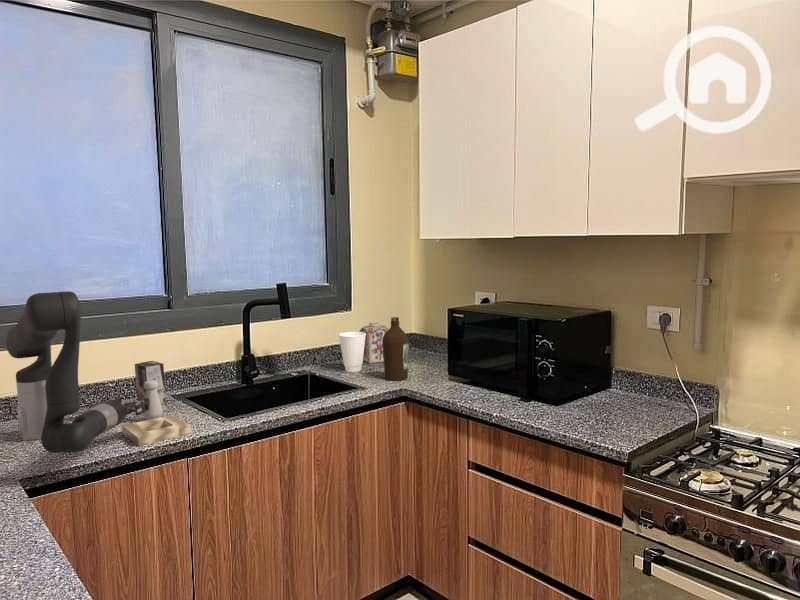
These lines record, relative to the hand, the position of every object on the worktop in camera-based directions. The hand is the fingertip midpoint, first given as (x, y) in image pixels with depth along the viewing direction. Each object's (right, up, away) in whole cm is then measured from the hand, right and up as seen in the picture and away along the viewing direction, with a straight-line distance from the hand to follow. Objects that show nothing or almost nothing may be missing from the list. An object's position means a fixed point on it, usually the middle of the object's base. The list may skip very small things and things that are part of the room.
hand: (134, 400), depth 174 cm
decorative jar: (+69, +2, +97) cm, 119 cm away
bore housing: (+8, -9, -1) cm, 12 cm away
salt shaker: (+1, -8, +12) cm, 15 cm away
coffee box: (-5, -7, +24) cm, 26 cm away
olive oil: (+79, -2, +60) cm, 100 cm away
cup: (+60, 0, +77) cm, 98 cm away
